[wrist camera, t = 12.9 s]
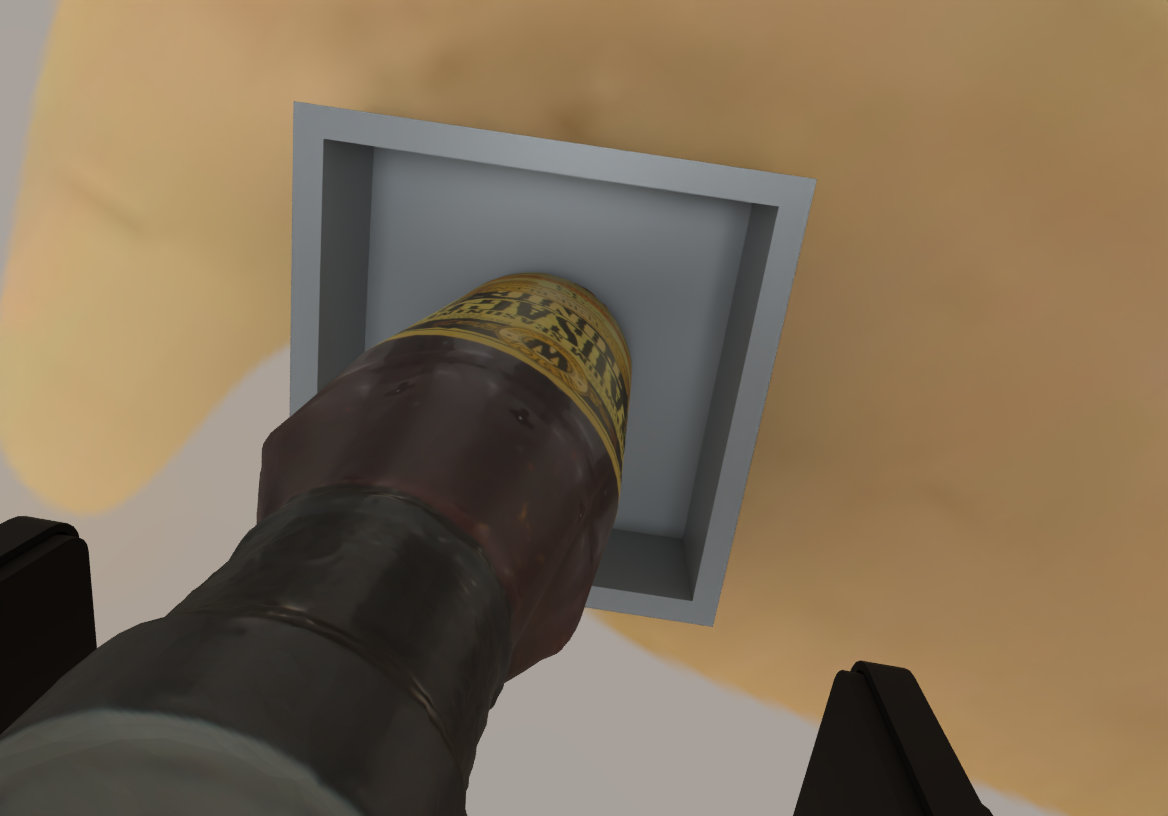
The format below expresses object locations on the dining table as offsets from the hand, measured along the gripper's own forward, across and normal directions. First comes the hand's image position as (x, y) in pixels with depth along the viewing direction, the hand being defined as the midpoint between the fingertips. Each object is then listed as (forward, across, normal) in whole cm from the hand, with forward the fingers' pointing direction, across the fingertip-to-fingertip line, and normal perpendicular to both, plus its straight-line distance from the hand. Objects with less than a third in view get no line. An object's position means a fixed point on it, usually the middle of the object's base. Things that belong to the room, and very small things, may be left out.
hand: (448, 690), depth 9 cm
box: (+17, +1, 0) cm, 17 cm away
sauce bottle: (+16, +1, 0) cm, 17 cm away
